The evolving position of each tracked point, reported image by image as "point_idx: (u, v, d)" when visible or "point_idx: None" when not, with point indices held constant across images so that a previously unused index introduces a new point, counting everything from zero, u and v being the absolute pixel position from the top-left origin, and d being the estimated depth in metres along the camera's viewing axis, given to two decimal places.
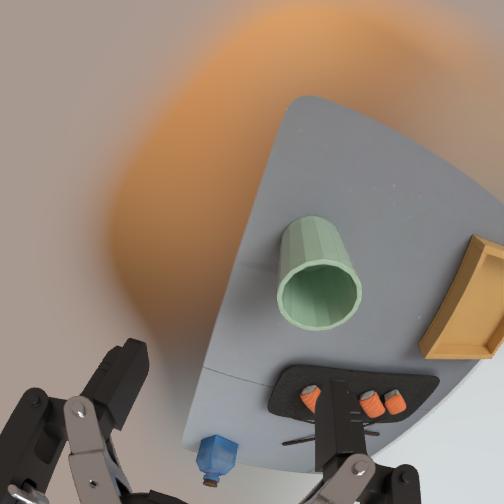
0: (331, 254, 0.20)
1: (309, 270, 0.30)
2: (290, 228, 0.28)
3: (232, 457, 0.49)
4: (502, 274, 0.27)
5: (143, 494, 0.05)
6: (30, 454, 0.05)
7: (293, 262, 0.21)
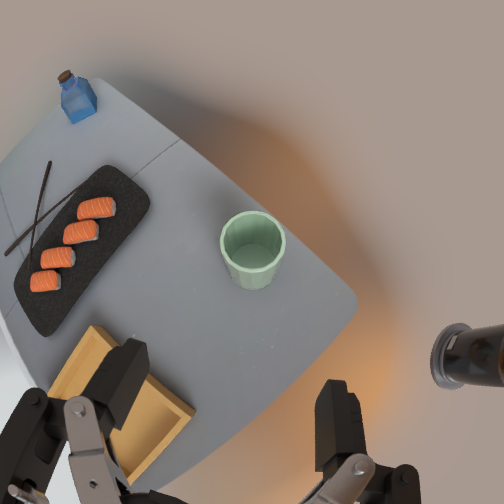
0: (278, 262, 0.29)
1: (234, 255, 0.38)
2: None
3: (68, 111, 0.44)
4: (137, 437, 0.30)
5: (143, 494, 0.05)
6: (30, 454, 0.05)
7: None
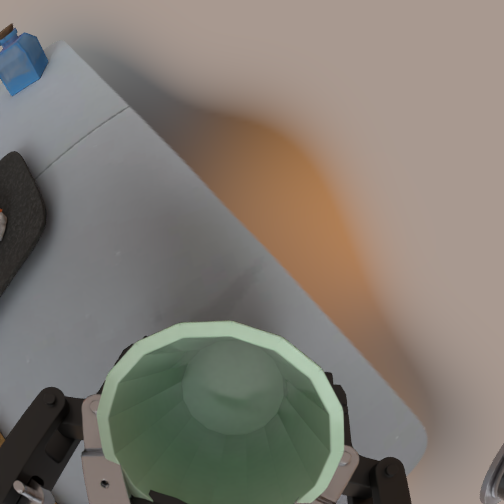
0: None
1: (191, 363, 0.15)
2: None
3: (5, 78, 0.22)
4: None
5: None
6: (41, 453, 0.05)
7: None
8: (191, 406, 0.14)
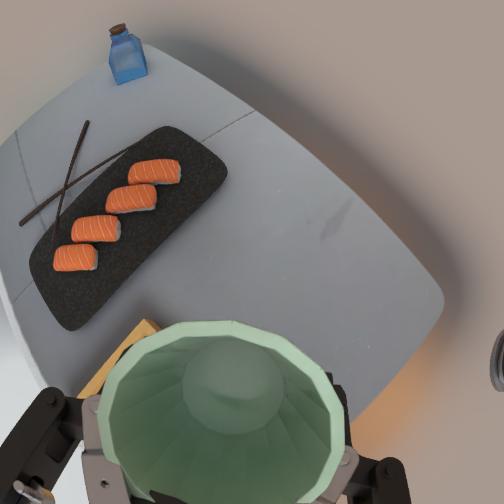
0: None
1: (191, 363, 0.15)
2: None
3: (115, 69, 0.38)
4: None
5: None
6: (41, 453, 0.05)
7: None
8: (191, 406, 0.14)
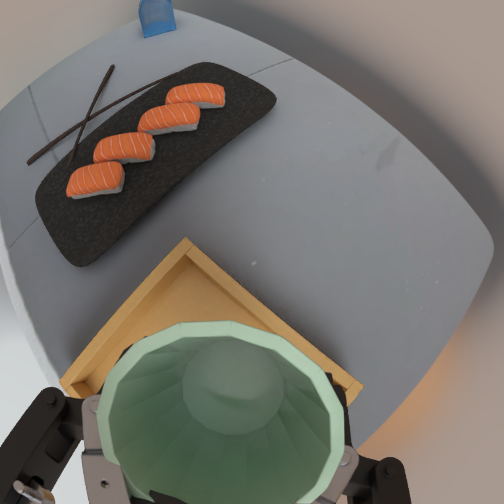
0: None
1: (191, 363, 0.15)
2: None
3: (144, 20, 0.34)
4: None
5: None
6: (41, 453, 0.05)
7: None
8: (191, 406, 0.14)
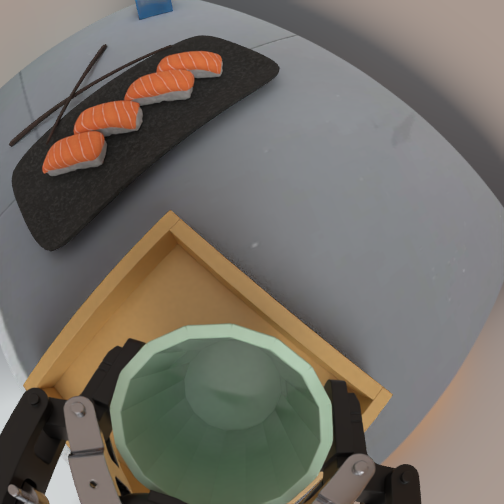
0: None
1: (193, 362, 0.16)
2: None
3: (139, 1, 0.29)
4: None
5: (143, 494, 0.05)
6: (30, 454, 0.05)
7: None
8: (193, 403, 0.15)
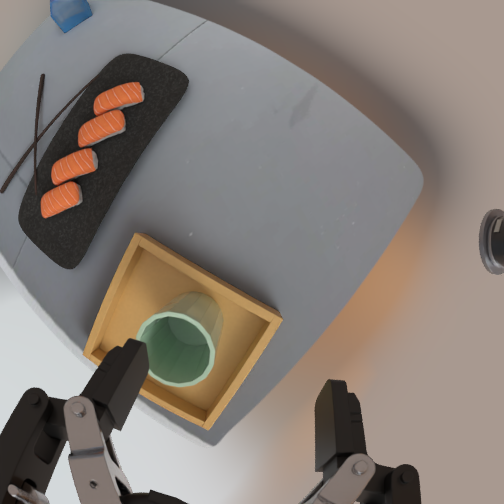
0: None
1: None
2: (219, 311, 0.29)
3: (59, 19, 0.25)
4: None
5: (143, 494, 0.05)
6: (30, 454, 0.05)
7: (212, 335, 0.22)
8: (176, 334, 0.30)
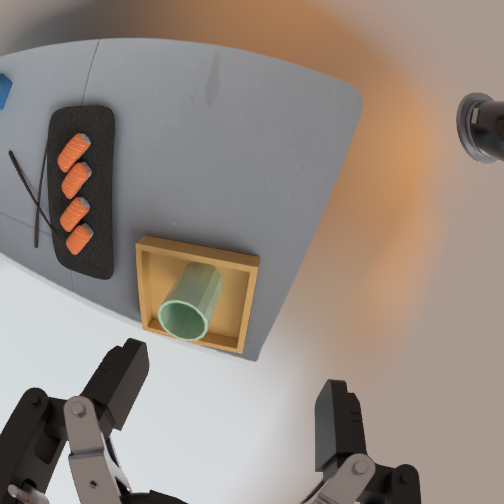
0: (209, 322, 0.34)
1: None
2: (214, 273, 0.40)
3: None
4: (226, 305, 0.44)
5: (143, 494, 0.05)
6: (30, 454, 0.05)
7: (200, 304, 0.33)
8: None
